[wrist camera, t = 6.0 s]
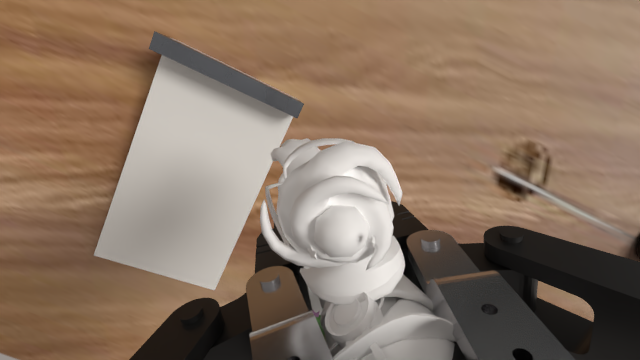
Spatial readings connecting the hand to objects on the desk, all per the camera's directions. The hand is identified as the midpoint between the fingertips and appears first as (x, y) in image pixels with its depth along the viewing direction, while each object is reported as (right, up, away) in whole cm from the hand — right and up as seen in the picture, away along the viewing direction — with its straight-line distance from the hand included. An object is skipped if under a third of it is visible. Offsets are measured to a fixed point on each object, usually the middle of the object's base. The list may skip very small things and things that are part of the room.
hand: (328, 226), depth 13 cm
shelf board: (-12, +3, +18) cm, 21 cm away
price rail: (-7, +10, +13) cm, 18 cm away
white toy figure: (-1, +1, +3) cm, 3 cm away
